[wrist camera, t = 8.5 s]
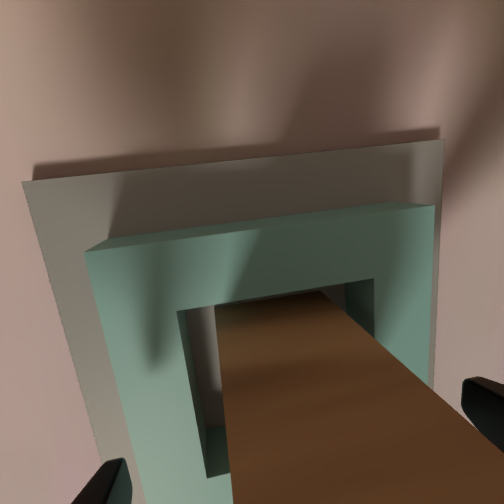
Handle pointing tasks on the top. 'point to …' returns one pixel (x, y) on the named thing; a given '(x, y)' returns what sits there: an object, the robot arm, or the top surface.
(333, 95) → the top surface
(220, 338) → the walnut peg
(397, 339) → the socket block
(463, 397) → the robot arm
